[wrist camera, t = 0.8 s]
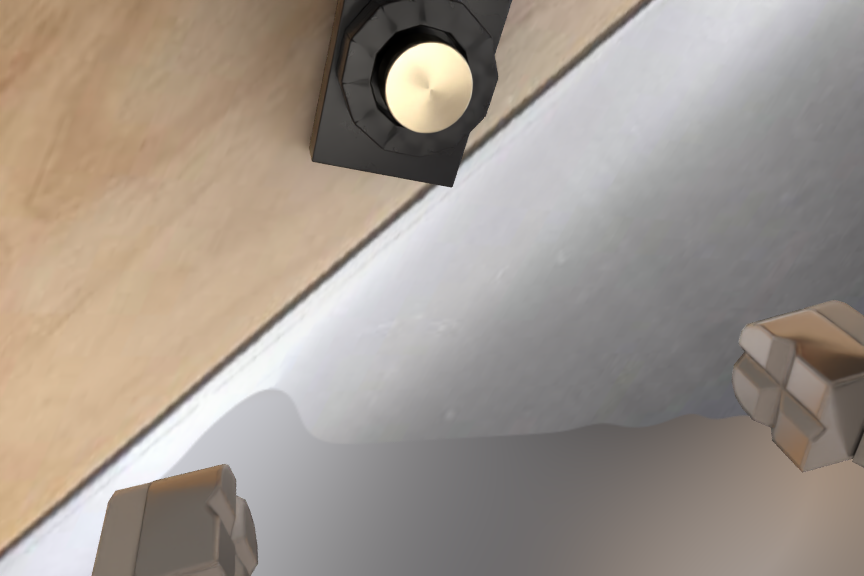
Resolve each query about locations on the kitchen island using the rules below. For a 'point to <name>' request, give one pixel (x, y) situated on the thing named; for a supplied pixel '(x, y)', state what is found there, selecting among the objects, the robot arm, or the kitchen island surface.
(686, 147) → the kitchen island surface
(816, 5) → the kitchen island surface
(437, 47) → the switch button
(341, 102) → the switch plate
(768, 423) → the robot arm
